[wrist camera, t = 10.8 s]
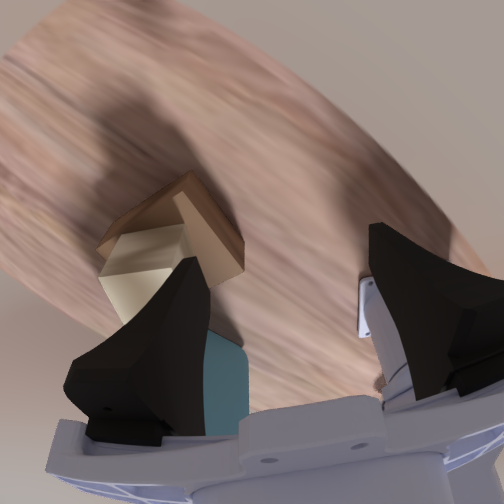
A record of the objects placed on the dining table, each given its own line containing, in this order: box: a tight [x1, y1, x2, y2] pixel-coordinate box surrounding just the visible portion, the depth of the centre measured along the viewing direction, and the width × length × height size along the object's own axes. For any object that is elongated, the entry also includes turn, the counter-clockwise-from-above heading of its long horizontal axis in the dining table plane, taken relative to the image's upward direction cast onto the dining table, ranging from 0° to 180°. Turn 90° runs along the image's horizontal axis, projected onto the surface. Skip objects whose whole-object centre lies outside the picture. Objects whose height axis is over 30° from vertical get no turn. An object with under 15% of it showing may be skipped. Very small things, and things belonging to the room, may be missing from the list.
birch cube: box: [98, 223, 195, 325], centre depth 19 cm, size 4×4×4 cm
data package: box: [203, 329, 249, 436], centre depth 26 cm, size 12×4×12 cm, turn 49°
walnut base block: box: [96, 170, 245, 288], centre depth 23 cm, size 8×7×4 cm
